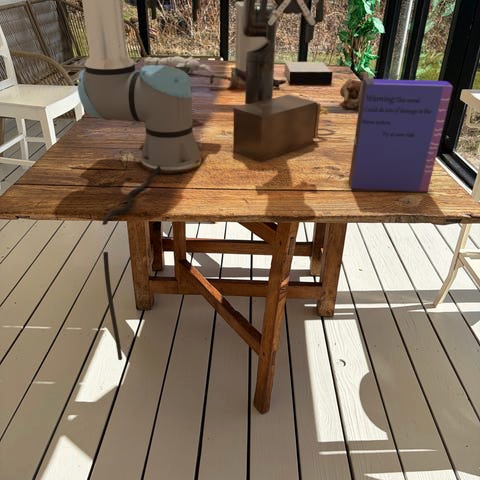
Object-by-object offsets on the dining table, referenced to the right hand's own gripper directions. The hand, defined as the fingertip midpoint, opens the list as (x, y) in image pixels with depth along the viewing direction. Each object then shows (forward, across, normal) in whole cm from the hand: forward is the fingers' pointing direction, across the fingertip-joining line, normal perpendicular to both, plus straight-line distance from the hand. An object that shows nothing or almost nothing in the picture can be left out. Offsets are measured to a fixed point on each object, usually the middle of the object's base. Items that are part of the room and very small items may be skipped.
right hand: (289, 42), depth 110 cm
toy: (+29, +28, -108) cm, 115 cm away
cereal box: (+29, -22, +17) cm, 40 cm away
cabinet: (+29, 0, -11) cm, 31 cm away
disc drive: (+29, -28, -95) cm, 103 cm away
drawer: (+28, -5, -15) cm, 32 cm away
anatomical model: (+29, -35, -53) cm, 70 cm away
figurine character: (+29, +27, -78) cm, 88 cm away
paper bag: (+29, -6, -108) cm, 112 cm away
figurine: (+29, 0, -79) cm, 84 cm away
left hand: (+1, +27, -52) cm, 59 cm away
